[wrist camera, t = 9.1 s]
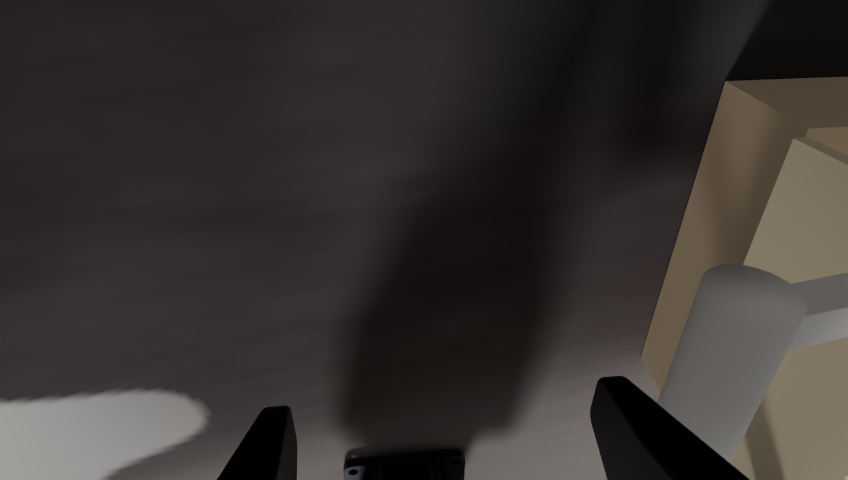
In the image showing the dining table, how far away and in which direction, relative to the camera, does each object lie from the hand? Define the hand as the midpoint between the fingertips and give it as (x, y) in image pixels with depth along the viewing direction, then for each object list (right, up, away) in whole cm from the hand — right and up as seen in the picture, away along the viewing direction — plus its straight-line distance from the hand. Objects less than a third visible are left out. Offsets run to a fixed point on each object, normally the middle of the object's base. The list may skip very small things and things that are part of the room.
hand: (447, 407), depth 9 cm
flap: (+12, -1, +9) cm, 15 cm away
